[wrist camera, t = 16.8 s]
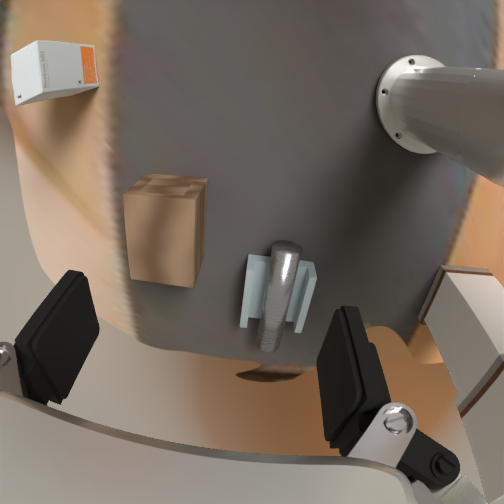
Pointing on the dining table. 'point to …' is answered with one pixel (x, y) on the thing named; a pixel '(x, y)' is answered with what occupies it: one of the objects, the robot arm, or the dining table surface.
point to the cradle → (257, 284)
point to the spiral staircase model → (473, 360)
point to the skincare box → (52, 71)
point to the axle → (277, 294)
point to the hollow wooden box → (166, 228)
